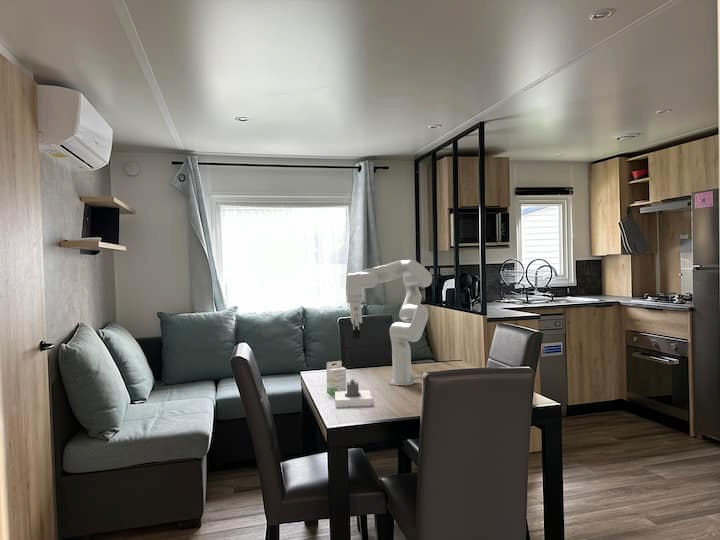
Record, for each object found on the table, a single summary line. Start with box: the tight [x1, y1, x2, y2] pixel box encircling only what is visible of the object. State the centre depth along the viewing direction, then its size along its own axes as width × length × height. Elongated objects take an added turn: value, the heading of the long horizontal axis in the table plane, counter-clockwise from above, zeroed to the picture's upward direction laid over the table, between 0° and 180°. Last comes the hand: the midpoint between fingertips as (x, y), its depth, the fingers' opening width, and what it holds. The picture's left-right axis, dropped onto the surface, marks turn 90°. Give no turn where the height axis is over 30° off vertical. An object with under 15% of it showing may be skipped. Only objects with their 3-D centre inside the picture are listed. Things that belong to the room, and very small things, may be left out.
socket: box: [334, 389, 373, 408], centre depth 230 cm, size 16×16×3 cm
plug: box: [346, 378, 360, 397], centre depth 230 cm, size 5×5×10 cm
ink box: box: [326, 360, 347, 395], centre depth 249 cm, size 9×5×15 cm, turn 118°
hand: (356, 337), depth 242 cm, fingers closed
